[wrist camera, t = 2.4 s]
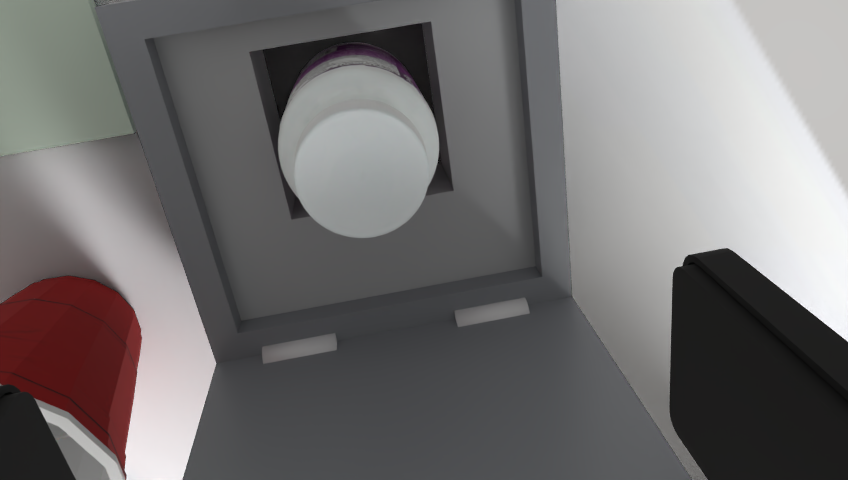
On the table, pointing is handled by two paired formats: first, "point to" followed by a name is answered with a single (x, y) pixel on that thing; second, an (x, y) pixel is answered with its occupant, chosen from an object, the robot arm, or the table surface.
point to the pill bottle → (358, 141)
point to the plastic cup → (75, 367)
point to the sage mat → (56, 77)
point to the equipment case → (381, 258)
